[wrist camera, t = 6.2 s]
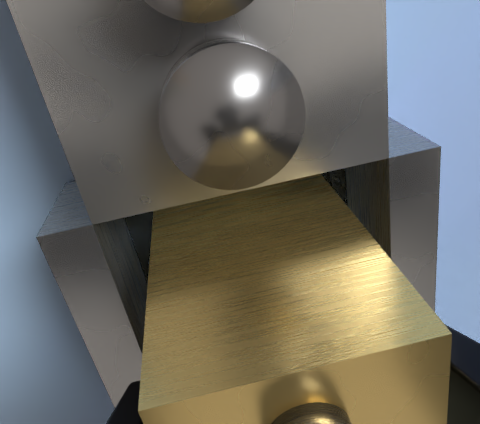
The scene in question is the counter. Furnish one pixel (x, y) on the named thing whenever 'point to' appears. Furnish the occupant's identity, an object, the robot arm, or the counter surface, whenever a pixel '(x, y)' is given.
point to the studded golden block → (284, 317)
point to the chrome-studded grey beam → (213, 135)
